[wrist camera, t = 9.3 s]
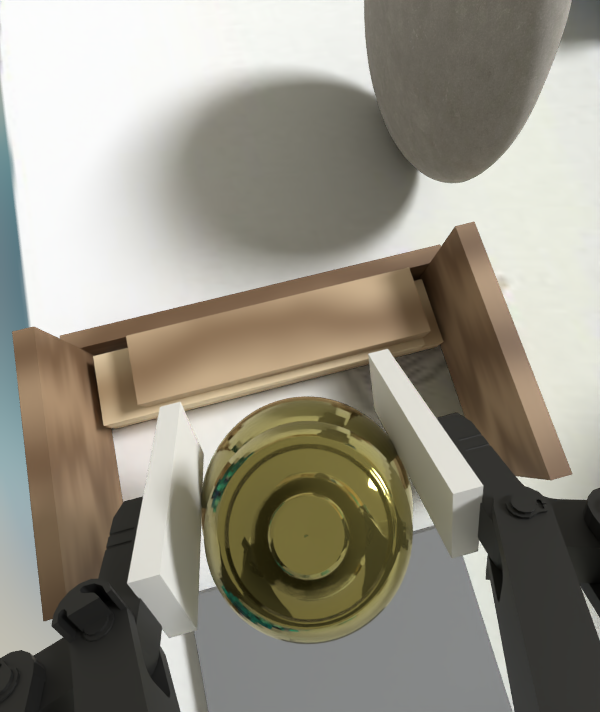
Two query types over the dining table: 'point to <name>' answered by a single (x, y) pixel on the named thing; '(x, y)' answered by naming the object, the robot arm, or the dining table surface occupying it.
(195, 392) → the offcut rack
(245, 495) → the gold rounded piece
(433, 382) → the dining table surface
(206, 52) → the dining table surface
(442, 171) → the grey thick disc
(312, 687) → the charcoal mat
